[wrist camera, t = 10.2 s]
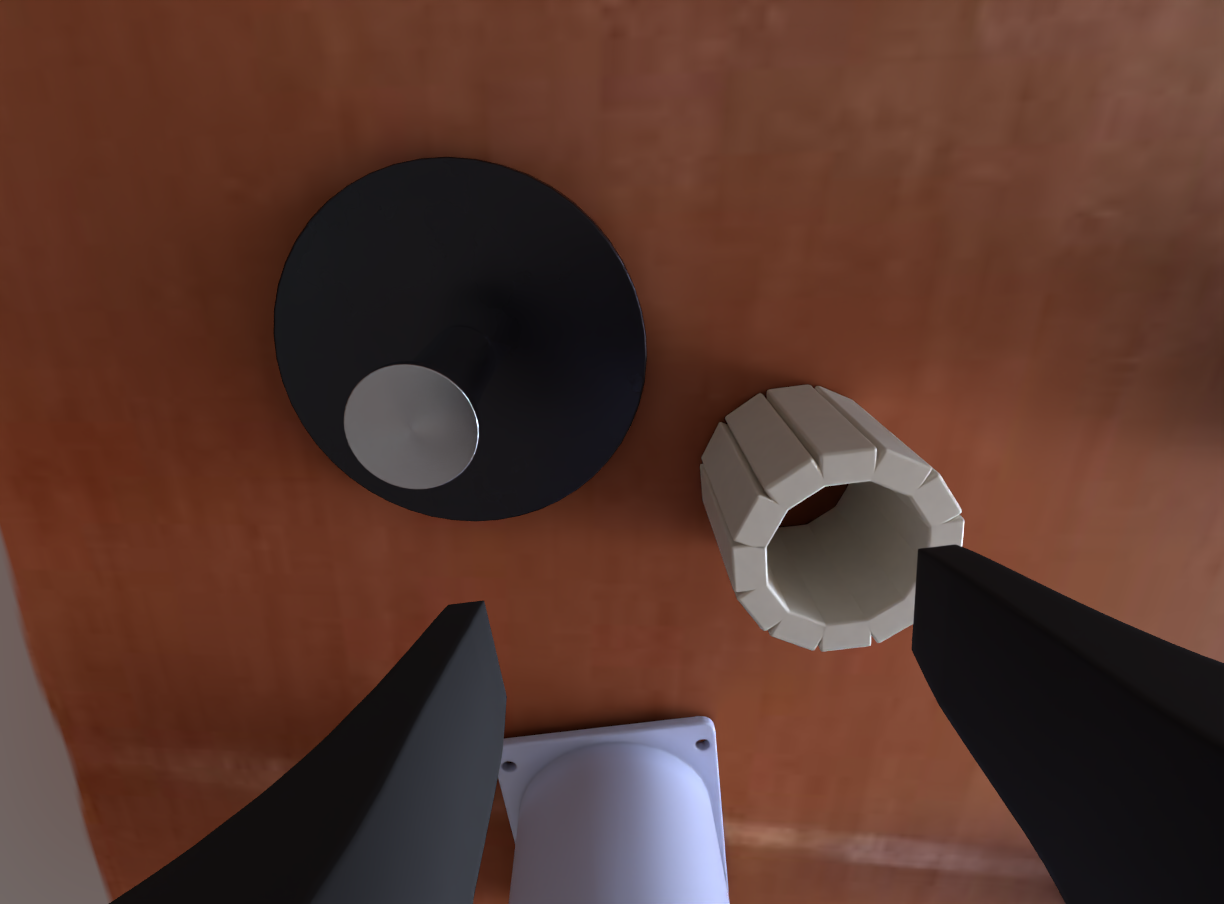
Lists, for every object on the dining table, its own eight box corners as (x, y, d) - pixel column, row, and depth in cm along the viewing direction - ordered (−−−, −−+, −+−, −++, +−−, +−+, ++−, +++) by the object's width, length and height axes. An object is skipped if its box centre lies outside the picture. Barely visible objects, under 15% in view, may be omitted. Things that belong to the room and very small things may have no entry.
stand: (660, 488, 20) (687, 611, 15) (342, 527, 21) (244, 664, 15) (623, 133, 17) (640, 107, 11) (233, 185, 17) (46, 188, 11)
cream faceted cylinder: (876, 538, 21) (955, 637, 17) (707, 558, 22) (738, 662, 17) (882, 373, 19) (973, 435, 15) (694, 397, 19) (725, 465, 15)
